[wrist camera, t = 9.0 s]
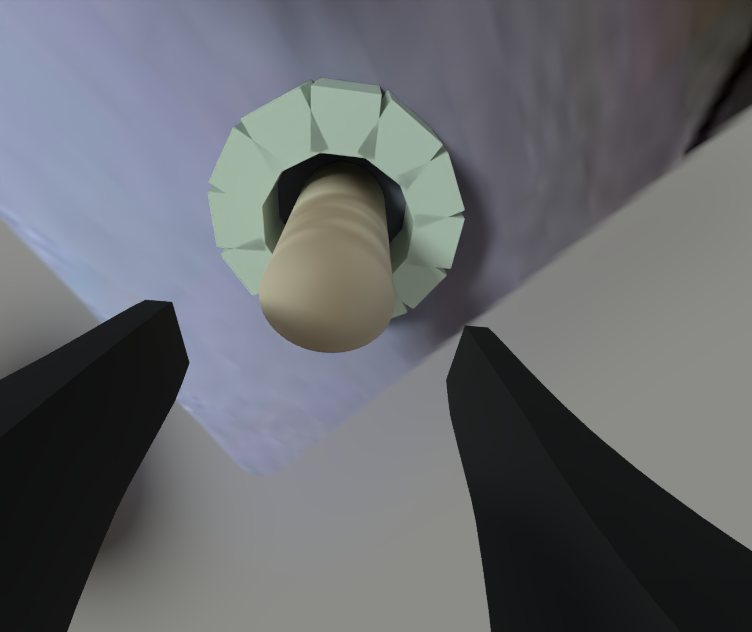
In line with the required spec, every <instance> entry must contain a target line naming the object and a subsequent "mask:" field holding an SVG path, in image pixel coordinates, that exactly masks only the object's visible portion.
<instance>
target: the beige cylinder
mask: <svg viewBox="0 0 752 632" xmlns="http://www.w3.org/2000/svg"><path fill="white" fill-rule="evenodd" d="M259 300H260V305H261V308H262V311H263V314H264V315H265V317H266V319H267V321H268V322H269V324H270V325H271V326H272V327H273V328H274V329H275V331H276V332H278V333H279V334H280V335H281V336H282V337H284V338H285V339H287V340H288V341H290V342H292V343H293V344H295V345H298V346H300V347H302V348H305V349H308V350H312V351H317V352H325V353H338V352H346V351H351V350H354V349H357V348H360V347H362V346H364V345H366V344H368V343H370V342H371V341H373V340H374V339H376V338H377V337H378V336H379V335H380V334H381V333H382V332H383V331H384V330H385V329H386V327H387V325H388V324H389V322H390V320H391V318H392V315H393V311H394V304H395V300H394V288H393V278H392V269H391V259H390V249H389V239H388V229H387V219H386V209H385V200H384V195H383V192H382V189H381V187H380V185H379V183H378V182H377V180H376V179H375V178H374V177H373V176H372V175H371V174H370V173H369V172H368V171H367V170H365V169H364V168H362V167H360V166H358V165H355V164H352V163H347V162H333V163H329V164H326V165H324V166H322V167H320V168H318V169H317V170H315V171H314V172H313V173H312V174H311V175H310V176H309V178H308V179H307V180H306V182H305V184H304V186H303V188H302V190H301V193H300V195H299V197H298V199H297V201H296V204H295V206H294V208H293V210H292V212H291V215H290V217H289V219H288V221H287V223H286V226H285V228H284V230H283V232H282V234H281V237H280V239H279V241H278V243H277V245H276V247H275V250H274V252H273V254H272V256H271V258H270V261H269V263H268V265H267V267H266V269H265V272H264V274H263V276H262V279H261V282H260V287H259Z"/></svg>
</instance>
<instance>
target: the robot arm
mask: <svg viewBox="0 0 752 632" xmlns="http://www.w3.org/2000/svg"><path fill="white" fill-rule="evenodd" d="M188 366H189V360H188V356H187V353H186V349H185V345H184V342H183V338H182V335H181V331H180V328H179V324H178V321H177V317H176V314H175V310H174V307H173V303H172V302H167V301H154V300H144V301H142V302H140V303H138V304H136V305H134V306H132V307H130V308H129V309H127V310H125V311H123V312H121V313H120V314H118V315H116V316H114V317H113V318H111V319H109V320H107V321H106V322H104V323H102V324H100V325H99V326H97V327H95V328H94V329H92V330H90V331H88V332H87V333H85V334H83V335H81V336H80V337H78V338H76V339H74V340H73V341H71V342H69V343H67V344H65V345H64V346H62V347H60V348H59V349H57V350H55V351H53V352H51V353H50V354H48V355H46V356H44V357H42V358H40V359H38V360H37V361H35V362H33V363H31V364H29V365H27V366H25V367H24V368H22V369H20V370H18V371H16V372H14V373H12V374H10V375H8V376H7V377H5V378H3V379H1V380H0V632H67V631H68V628H69V625H70V623H71V620H72V617H73V614H74V612H75V609H76V606H77V604H78V601H79V599H80V596H81V594H82V591H83V589H84V586H85V584H86V581H87V579H88V576H89V574H90V571H91V569H92V566H93V564H94V561H95V559H96V556H97V554H98V552H99V549H100V547H101V544H102V542H103V540H104V538H105V535H106V533H107V531H108V528H109V526H110V524H111V521H112V519H113V517H114V515H115V512H116V510H117V508H118V506H119V504H120V502H121V500H122V498H123V496H124V494H125V492H126V489H127V487H128V485H129V484H130V482H131V480H132V478H133V477H134V475H135V473H136V471H137V469H138V468H139V466H140V464H141V462H142V460H143V458H144V457H145V455H146V453H147V451H148V449H149V448H150V446H151V444H152V442H153V440H154V439H155V437H156V435H157V433H158V431H159V430H160V428H161V426H162V424H163V422H164V420H165V418H166V416H167V414H168V413H169V411H170V409H171V407H172V405H173V404H174V402H175V400H176V397H177V395H178V392H179V390H180V387H181V385H182V382H183V379H184V377H185V374H186V371H187V368H188ZM446 382H447V393H448V402H449V409H450V416H451V421H452V425H453V429H454V433H455V437H456V441H457V445H458V449H459V453H460V457H461V461H462V464H463V469H464V473H465V477H466V480H467V485H468V488H469V492H470V496H471V501H472V505H473V510H474V515H475V520H476V526H477V532H478V539H479V545H480V552H481V558H482V565H483V572H484V579H485V587H486V595H487V602H488V609H489V617H490V627H491V632H752V551H751V550H750V549H748V548H747V547H745V546H744V545H742V544H741V543H739V542H737V541H736V540H734V539H733V538H732V537H730V536H729V535H727V534H726V533H724V532H723V531H721V530H720V529H718V528H717V527H716V526H714V525H713V524H711V523H710V522H708V521H707V520H705V519H704V518H702V517H701V516H700V515H698V514H697V513H696V512H694V511H693V510H691V509H690V508H689V507H687V506H686V505H685V504H683V503H682V502H680V501H679V500H678V499H676V498H675V497H674V496H672V495H671V494H670V493H668V492H667V491H665V490H664V489H663V488H661V487H660V486H659V485H657V484H656V483H655V482H654V481H652V480H651V479H650V478H648V477H647V476H646V475H644V474H643V473H642V472H641V471H639V470H638V469H636V468H635V467H634V466H633V465H632V464H631V463H629V462H628V461H627V460H626V459H625V458H623V457H622V456H621V455H620V454H618V453H617V452H616V451H615V450H614V449H612V448H611V447H610V446H609V445H607V444H606V443H605V442H604V441H603V440H601V439H600V438H599V437H598V436H597V435H596V434H595V433H593V432H592V431H591V430H590V429H589V428H588V427H587V426H586V425H585V424H584V423H582V422H581V421H580V420H579V419H578V418H577V417H576V416H575V415H574V414H573V413H572V412H571V411H570V410H568V409H567V408H566V407H565V406H564V405H563V404H562V403H561V402H560V401H559V400H558V399H557V398H556V397H555V396H554V395H553V394H552V393H551V392H550V391H549V390H548V389H547V388H546V387H545V386H544V385H543V384H542V383H541V382H540V381H539V380H538V379H537V378H536V377H535V376H534V375H533V374H532V373H531V372H530V371H529V370H528V369H527V368H526V367H525V366H524V364H522V362H521V361H520V360H519V359H518V358H517V357H516V356H515V355H514V354H513V353H512V352H511V351H510V350H509V348H508V347H507V346H506V345H505V344H504V343H503V342H502V341H501V340H500V339H499V338H498V337H497V336H496V335H495V334H494V333H493V332H492V331H491V330H490V329H489V328H487V327H475V326H465V327H464V330H463V333H462V336H461V339H460V342H459V345H458V348H457V350H456V353H455V356H454V359H453V362H452V365H451V368H450V371H449V374H448V376H447V379H446Z"/></svg>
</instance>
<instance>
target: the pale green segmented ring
mask: <svg viewBox="0 0 752 632" xmlns="http://www.w3.org/2000/svg"><path fill="white" fill-rule="evenodd" d="M381 96H382V94H381V91H380V87H379V86H377V85H370V84H362V83H355V82H348V81H340V80H333V79H326V78H320V79H318V80H317V81H316V82H314V83H313V82H312V80H309V81H308V82H306V83H304V84H302V85H300V86H298V87H296V88H295V89H293V90H291V91H289V92H287V93H285V94H284V95H282V96H280V97H278V98H276V99H274V100H273V101H271V102H269V103H267V104H265V105H263V106H261V107H260V108H258V109H257V110H255V111H253V112H252V113H250V114H248V115H247V116H245V117H243V118H242V119H240V120H241V121H242V122H240V123H239V124H237V125H236V126H234V127H233V129H232V131H231V133H230V136H229V138H228V140H227V142H226V144H225V147H224V149H223V151H222V153H221V156H220V158H219V160H218V162H217V164H216V167H215V169H214V171H213V173H212V176H211V178H210V180H209V183H210V184H212V185H213V187H212V188H211V189H210V190H209V191H208V198H209V204H210V210H211V216H212V222H213V228H214V234H215V239H216V245H217V247H224V248H225V249H224V250H223V252H222V253H221V254H220V255H221V256H222V257H223V259H224V260H225V261H226V262H227V264H228V265H229V266H230V268H231V269H232V270H233V271H234V273H235V274H236V275H237V276H238V278H239V279H240V280H241V282H242V283H243V284H244V285H245V287H246V288H247V289H248V291H249V292H250V293H251V294H252V296H253V295H256V294H258V293H259V287H260V282H261V279H262V276H263V274H264V272H265V269H266V267H267V265H268V263H269V261H270V258H271V256H272V254H273V252H274V250H275V247H276V245H277V243H278V241H279V239H280V237H281V234H282V232H283V230H284V228H285V224H284V223H283V221H282V220H281V218H280V216H279V201H278V180H279V179H280V177H281V175H282V173H283V172H284V170H286V169H288V168H290V167H292V166H294V165H296V164H298V163H300V162H302V161H304V160H306V159H308V158H310V157H312V156H315V155H317V154H319V153H327V154H335V155H344V156H352V157H361V158H366V159H367V160H368V161H370V162H371V163H372V164H374V165H375V166H376V167H377V168H379V169H380V170H381V171H383V172H384V173H385V174H386V175H388V176H389V177H390V178H392V179H393V180H394V181H395V182H397V183H398V184H399V185H400V187H401V189H402V192H403V194H404V197H405V200H406V208H405V214H404V220H403V226H402V229H401V230H400V232H399V233H398V234H397V235H396V236H395V238H394V239H393V240H392V241H391V242H390V244H389V249H390V259H391V269H392V278H393V288H394V300H395V304H394V311H393V315H392V318H394V317H397V316H400V315H403V314H406V313H407V308H406V305H408V306H409V307H411V308H413V309H414V308H415V307H416V306H417V305H418V304H419V303H420V302H421V301H422V300H423V299H424V298H425V297H426V296H427V295H428V294H429V293H430V292H431V291H432V290H433V289H434V288H435V287H436V286H437V285H438V284H439V283H440V282H441V281H442V280H443V279H444V278H445V277H446V276H447V275H446V272H445V269H444V268H448V269H451V266H452V263H453V259H454V256H455V252H456V248H457V245H458V241H459V238H460V234H461V230H462V227H463V223H464V220H465V219H464V217H463V215H462V213H461V212H462V211H464V210H465V209H464V206H463V202H462V199H461V195H460V192H459V188H458V185H457V182H456V178H455V175H454V171H453V168H452V164H451V161H450V157H449V154H448V152H447V151H446V149H445V148H444V146H443V144H442V142H441V141H440V140H439V138H438V137H437V136H436V134H435V133H434V132H433V130H432V129H431V128H430V127H429V126H428V125H427V124H426V123H424V122H423V121H422V120H421V119H420V118H419V117H418V116H417V115H415V114H414V113H413V112H412V111H411V110H410V109H409V108H408V107H406V106H405V105H404V104H403V103H402V102H401V101H400V100H399V99H397V98H396V97H395V96H394V95H393V94H392V93H391V92H390V91H389V90H387V92H386V93H385V95H384V96H383V98H382V100H381ZM259 301H260V300H259Z"/></svg>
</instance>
